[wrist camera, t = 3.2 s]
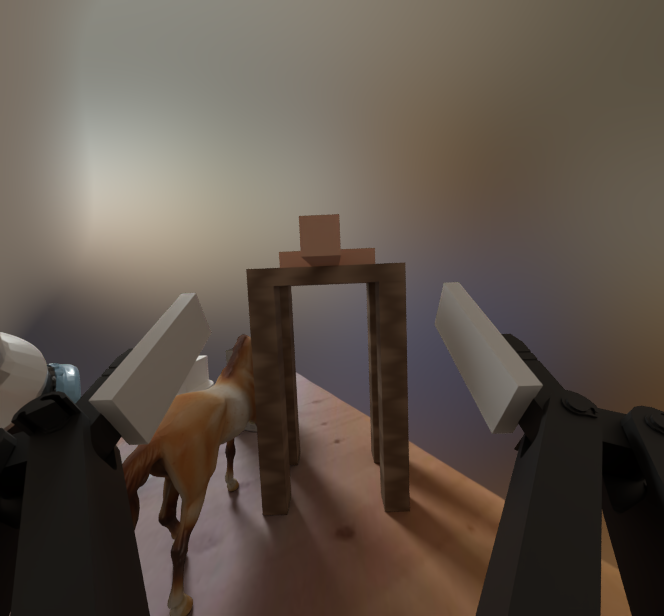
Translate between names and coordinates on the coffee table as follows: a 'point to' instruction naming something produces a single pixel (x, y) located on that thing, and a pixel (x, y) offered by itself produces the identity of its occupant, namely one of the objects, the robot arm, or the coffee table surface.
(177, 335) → the robot arm
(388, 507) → the walnut table
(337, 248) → the terracotta T
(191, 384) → the cylinder with rectangular tab
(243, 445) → the coffee table surface
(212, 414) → the horse figurine
